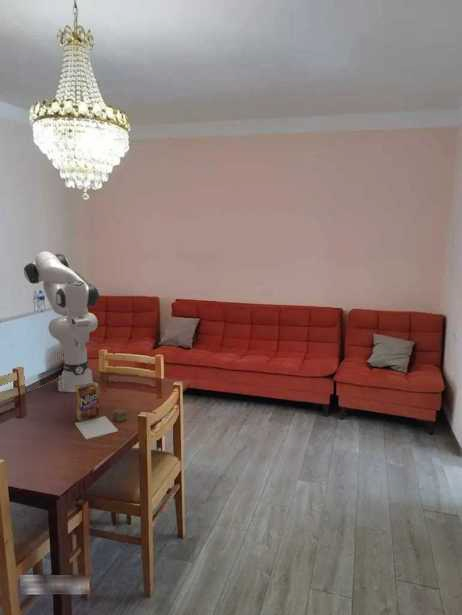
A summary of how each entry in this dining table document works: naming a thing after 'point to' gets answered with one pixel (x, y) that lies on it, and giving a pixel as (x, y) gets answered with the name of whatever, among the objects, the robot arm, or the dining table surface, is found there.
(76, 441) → the dining table surface
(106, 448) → the dining table surface
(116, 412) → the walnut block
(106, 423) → the mat
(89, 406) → the candy box
